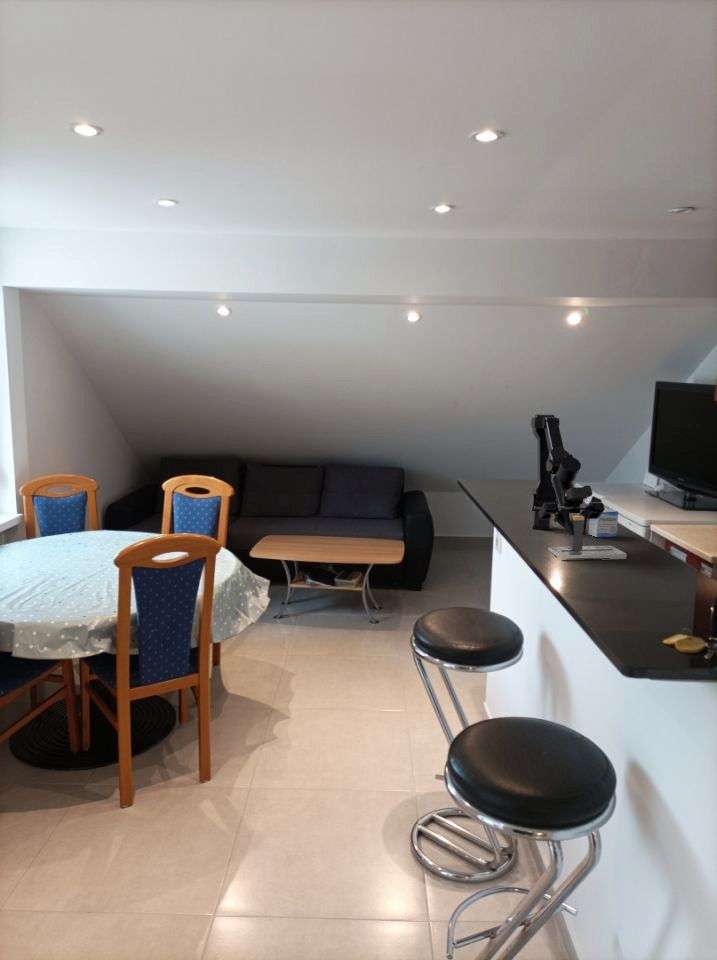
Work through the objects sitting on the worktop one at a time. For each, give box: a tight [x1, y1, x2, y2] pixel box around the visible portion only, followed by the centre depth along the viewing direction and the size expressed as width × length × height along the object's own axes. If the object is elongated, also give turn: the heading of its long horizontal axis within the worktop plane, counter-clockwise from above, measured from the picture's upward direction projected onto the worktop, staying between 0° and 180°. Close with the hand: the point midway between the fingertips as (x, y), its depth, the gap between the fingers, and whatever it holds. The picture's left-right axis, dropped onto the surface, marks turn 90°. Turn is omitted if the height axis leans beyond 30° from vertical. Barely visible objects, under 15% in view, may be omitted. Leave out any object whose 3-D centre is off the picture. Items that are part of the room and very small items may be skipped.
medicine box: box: [588, 508, 619, 538], centre depth 215 cm, size 8×4×9 cm, turn 105°
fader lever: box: [568, 514, 584, 550], centre depth 191 cm, size 3×2×10 cm, turn 97°
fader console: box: [548, 545, 628, 560], centre depth 193 cm, size 20×9×2 cm, turn 97°
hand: (578, 535), depth 190 cm, fingers closed on fader lever, 3 cm apart
